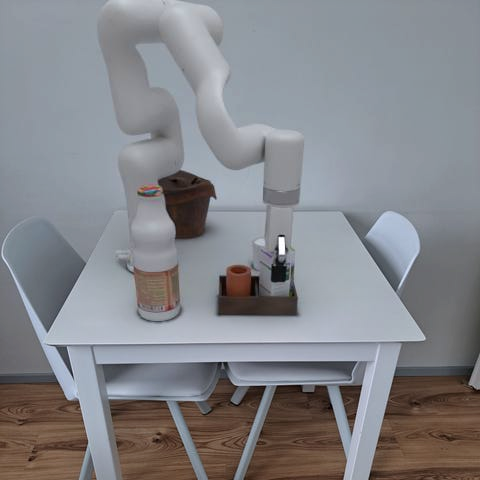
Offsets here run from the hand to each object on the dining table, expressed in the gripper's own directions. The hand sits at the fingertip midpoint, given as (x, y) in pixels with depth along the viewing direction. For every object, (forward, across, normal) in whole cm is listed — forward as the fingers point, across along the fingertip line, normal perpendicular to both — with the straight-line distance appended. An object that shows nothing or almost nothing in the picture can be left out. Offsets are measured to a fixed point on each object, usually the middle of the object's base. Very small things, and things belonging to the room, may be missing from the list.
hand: (276, 272), depth 110 cm
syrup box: (+9, 0, 0) cm, 9 cm away
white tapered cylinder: (+9, -21, -1) cm, 23 cm away
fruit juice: (+9, +3, -26) cm, 28 cm away
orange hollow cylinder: (+8, 0, -8) cm, 12 cm away
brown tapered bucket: (+9, -46, -24) cm, 53 cm away
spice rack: (+8, 0, -4) cm, 9 cm away
